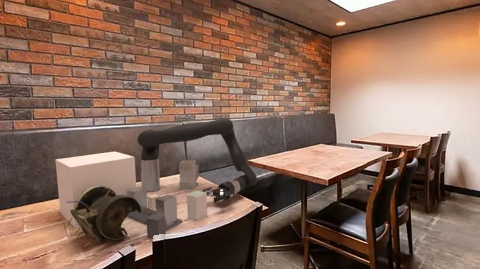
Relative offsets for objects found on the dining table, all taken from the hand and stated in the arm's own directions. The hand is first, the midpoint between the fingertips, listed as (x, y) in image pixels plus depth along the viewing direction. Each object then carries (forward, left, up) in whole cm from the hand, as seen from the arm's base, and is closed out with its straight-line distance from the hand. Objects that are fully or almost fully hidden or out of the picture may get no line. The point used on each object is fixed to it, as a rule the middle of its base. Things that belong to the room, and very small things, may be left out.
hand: (206, 198), depth 116 cm
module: (0, -6, -6) cm, 8 cm away
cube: (-41, -26, -7) cm, 49 cm away
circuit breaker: (-33, +22, -6) cm, 40 cm away
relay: (-1, -26, -6) cm, 27 cm away
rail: (-14, -18, -6) cm, 24 cm away
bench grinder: (-17, -38, -6) cm, 42 cm away
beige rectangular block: (-25, -9, -6) cm, 27 cm away
